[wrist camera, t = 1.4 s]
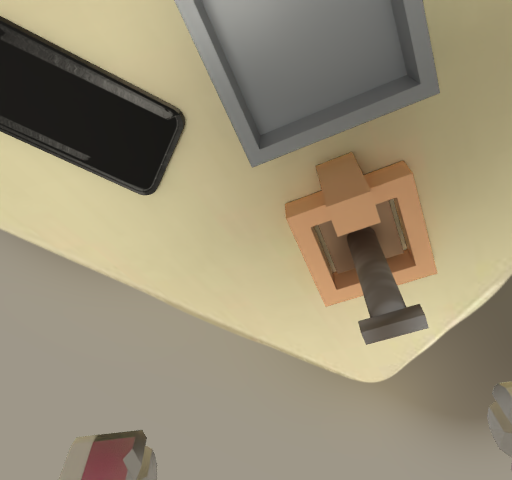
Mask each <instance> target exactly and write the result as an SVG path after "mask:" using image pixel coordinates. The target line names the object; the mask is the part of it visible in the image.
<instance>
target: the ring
mask: <svg viewBox="0 0 512 480" xmlns="http://www.w3.org/2000/svg"><path fill="white" fill-rule="evenodd" d="M316 169H317V173H318V177H319V181H320V185H321V189H322V191H319V192H317V193H314V194H311V195H308V196H306V197H303V198H300V199H298V200H295V201H292V202H289V203H287V204H285V210H286V219H287V222H288V224H289V226H290V228H291V231H292V233H293V235H294V237H295V239H296V242H297V244H298V246H299V248H300V251H301V253H302V255H303V257H304V259H305V262H306V264H307V266H308V268H309V271H310V273H311V275H312V277H313V279H314V282H315V284H316V286H317V288H318V291H319V293H320V295H321V297H322V299H323V302H324V304H325V306H330V305H333V304H337V303H340V302H343V301H347V300H350V299H353V298H357V297H360V296H363V295H364V294H363V291H362V288H361V285H360V281H359V278H358V275H357V271H356V268H355V269H352V270H349V271H346V272H342V273H339V274H338V273H337V272H334V273H333V272H332V270H331V267H330V265H329V262H328V260H327V258H326V255H325V253H324V250H323V248H322V246H321V243H320V241H319V238H318V236H317V234H316V231H315V229H314V226H316V225H319V224H322V223H324V222H327V221H330V220H331V221H332V224H333V226H334V229H335V231H336V234H337V237H339V236H342V235H345V234H348V233H351V232H354V231H357V230H360V229H363V228H366V227H369V226H372V225H375V224H378V223H380V222H381V221H380V218H379V215H378V212H377V208H376V204H379V203H382V202H385V201H388V200H390V199H394V203H395V206H396V210H397V213H398V217H399V220H400V224H401V227H402V231H403V234H404V238H405V242H406V245H407V250H404V253H403V254H399V255H396V256H393V257H390V258H387V259H386V260H387V263H388V265H389V267H390V270H391V272H392V275H393V277H394V279H395V282H396V284H397V285H400V284H403V283H407V282H410V281H413V280H417V279H420V278H424V277H427V276H430V275H434V274H437V270H436V265H435V261H434V257H433V253H432V249H431V245H430V241H429V237H428V233H427V229H426V225H425V221H424V217H423V213H422V209H421V205H420V201H419V197H418V193H417V189H416V185H415V181H414V177H413V173H412V172H411V170H410V169H409V168H408V166H407V165H406V164H405V162H404V161H401V162H398V163H395V164H393V165H390V166H387V167H384V168H382V169H379V170H376V171H374V172H371V173H368V174H365V175H363V173H362V171H361V169H360V167H359V165H358V163H357V161H356V159H355V157H354V155H353V153H352V152H351V153H348V154H346V155H343V156H340V157H338V158H335V159H333V160H330V161H327V162H325V163H322V164H320V165H317V166H316Z"/></svg>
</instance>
